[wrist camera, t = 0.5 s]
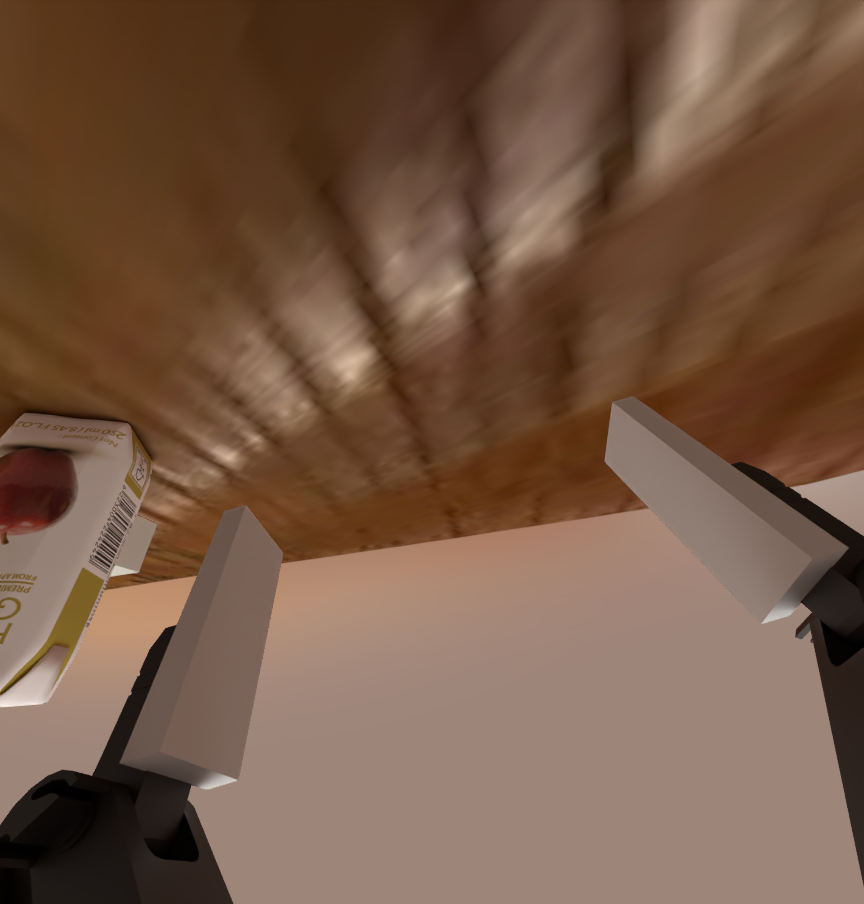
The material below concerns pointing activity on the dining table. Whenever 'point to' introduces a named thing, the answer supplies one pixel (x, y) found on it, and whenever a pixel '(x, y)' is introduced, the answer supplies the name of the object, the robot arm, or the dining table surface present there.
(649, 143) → the dining table surface
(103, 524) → the juice carton
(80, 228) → the dining table surface
